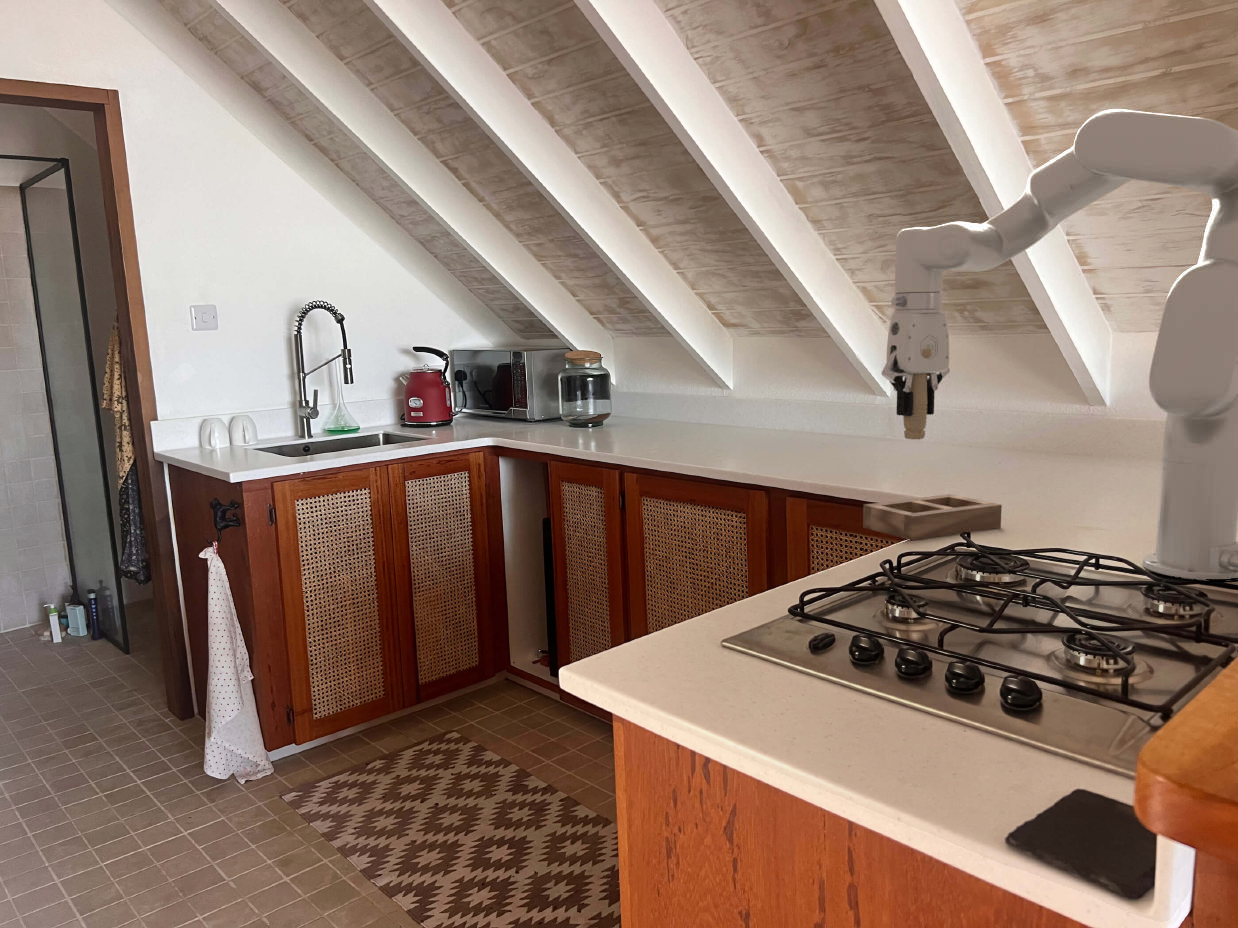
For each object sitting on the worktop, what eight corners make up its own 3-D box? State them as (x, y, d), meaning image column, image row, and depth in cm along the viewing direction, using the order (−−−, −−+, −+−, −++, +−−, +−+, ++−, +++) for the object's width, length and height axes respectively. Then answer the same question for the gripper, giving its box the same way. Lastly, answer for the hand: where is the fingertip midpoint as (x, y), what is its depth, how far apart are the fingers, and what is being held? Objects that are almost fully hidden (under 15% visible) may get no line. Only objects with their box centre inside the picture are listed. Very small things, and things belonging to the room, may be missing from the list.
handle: (924, 436, 165) (927, 348, 162) (933, 440, 158) (936, 349, 156) (896, 436, 165) (898, 349, 163) (903, 441, 159) (905, 350, 157)
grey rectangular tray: (1000, 527, 165) (1001, 504, 164) (912, 540, 156) (912, 516, 156) (948, 515, 176) (949, 494, 175) (863, 527, 167) (863, 504, 166)
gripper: (894, 304, 151) (892, 419, 154) (972, 303, 159) (968, 413, 161) (863, 305, 158) (861, 416, 161) (939, 305, 165) (936, 410, 168)
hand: (915, 413), depth 161 cm, fingers closed on handle, 4 cm apart
